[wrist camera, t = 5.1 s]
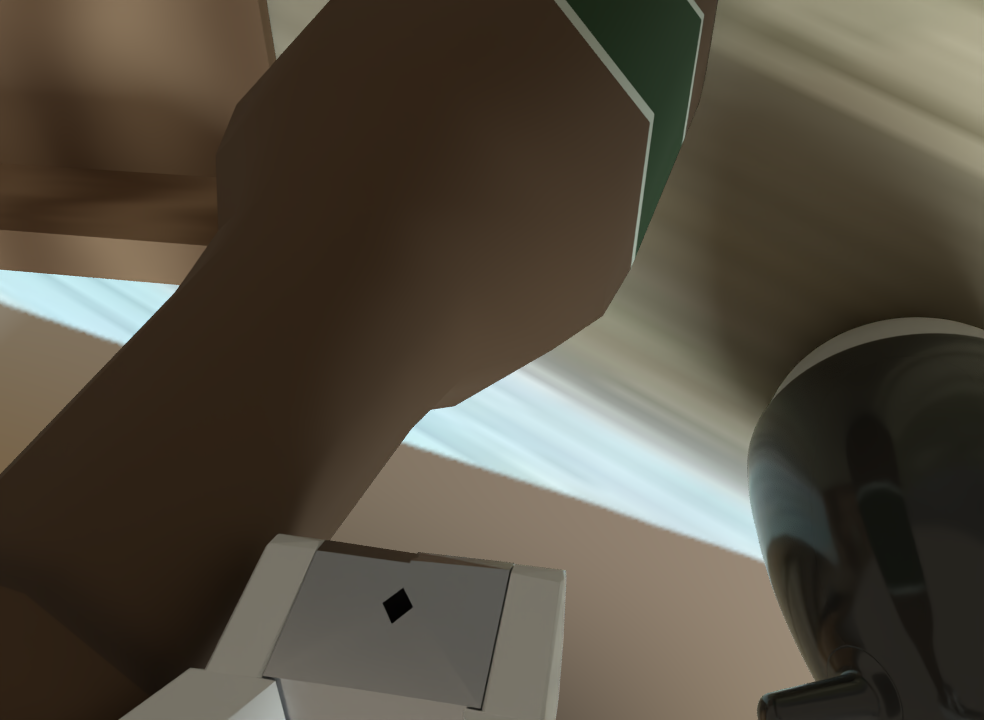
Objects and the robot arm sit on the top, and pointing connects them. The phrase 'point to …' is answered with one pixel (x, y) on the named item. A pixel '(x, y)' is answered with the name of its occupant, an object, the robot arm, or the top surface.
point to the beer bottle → (336, 312)
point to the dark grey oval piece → (878, 522)
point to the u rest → (119, 130)
